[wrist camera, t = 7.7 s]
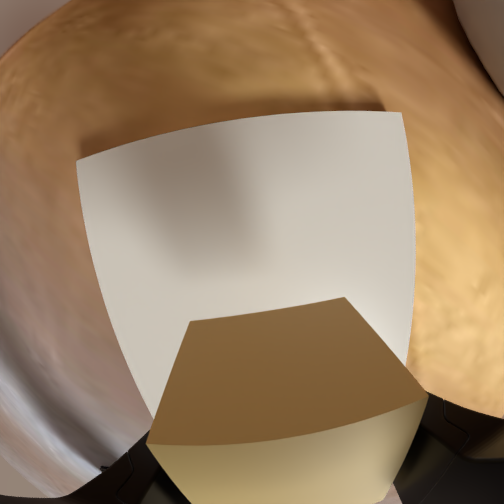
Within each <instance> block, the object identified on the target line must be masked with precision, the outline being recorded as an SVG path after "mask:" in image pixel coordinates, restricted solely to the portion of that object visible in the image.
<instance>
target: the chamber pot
mask: <svg viewBox="0 0 504 504" xmlns="http://www.w3.org/2000/svg"><path fill="white" fill-rule="evenodd" d="M452 1H453V4H454V7H455V10H456V13H457V17H458V20H459V21H460V23H461V25H462V27H463V29H464V31H465V34H466V36H467V38H468V40H469V42H470V44H471V45H472V47H473V49H474V50H475V52H476V54H477V55H478V57H479V59H480V61H481V63H482V64H483V66H484V68H485V69H486V71H487V72H488V74H489V75H490V77H491V78H492V80H493V82H494V83H495V85H496V86H497V88H498V90H499V91H500V93H501V94H502V95H503V96H504V0H452Z"/></svg>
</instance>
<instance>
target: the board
mask: <svg viewBox="0 0 504 504" xmlns="http://www.w3.org/2000/svg"><path fill="white" fill-rule="evenodd" d="M76 168H77V177H78V185H79V192H80V199H81V205H82V211H83V217H84V223H85V228H86V233H87V237H88V242H89V247H90V251H91V255H92V259H93V263H94V267H95V271H96V275H97V278H98V282H99V285H100V289H101V292H102V296H103V299H104V302H105V305H106V308H107V311H108V314H109V317H110V320H111V323H112V326H113V329H114V331H115V334H116V337H117V339H118V342H119V345H120V347H121V350H122V352H123V355H124V357H125V360H126V362H127V364H128V367H129V369H130V371H131V374H132V376H133V378H134V380H135V382H136V385H137V387H138V389H139V391H140V393H141V395H142V397H143V399H144V401H145V403H146V405H147V407H148V409H149V411H150V413H151V415H152V417H153V419H154V418H155V415H156V412H157V409H158V406H159V403H160V400H161V398H162V395H163V392H164V389H165V386H166V384H167V381H168V378H169V375H170V372H171V370H172V367H173V364H174V362H175V359H176V356H177V354H178V351H179V348H180V345H181V343H182V340H183V338H184V335H185V332H186V330H187V327H188V324H189V322H190V321H194V320H203V319H211V318H220V317H227V316H235V315H242V314H249V313H256V312H262V311H269V310H275V309H281V308H287V307H293V306H299V305H305V304H310V303H316V302H321V301H326V300H331V299H336V298H341V297H345V298H346V299H347V300H348V301H349V302H350V303H351V304H352V306H353V307H354V308H355V309H356V310H357V311H358V312H359V313H360V315H361V316H362V317H363V318H364V319H365V320H366V321H367V323H368V324H369V325H370V326H371V327H372V328H373V329H374V331H375V332H376V333H377V334H378V335H379V336H380V337H381V339H382V340H383V341H384V342H385V343H386V344H387V346H388V347H389V348H390V349H391V350H392V351H393V353H394V354H395V355H396V356H397V357H398V359H399V360H400V361H401V362H402V363H403V365H404V366H405V365H406V359H407V353H408V346H409V339H410V332H411V323H412V314H413V302H414V288H415V261H416V237H415V211H414V196H413V185H412V176H411V167H410V160H409V153H408V146H407V140H406V134H405V129H404V124H403V119H402V114H401V113H399V112H380V111H321V112H302V113H288V114H277V115H267V116H259V117H251V118H243V119H236V120H230V121H223V122H218V123H212V124H206V125H201V126H196V127H191V128H187V129H182V130H177V131H173V132H169V133H165V134H161V135H157V136H153V137H149V138H145V139H142V140H138V141H135V142H131V143H128V144H124V145H121V146H118V147H115V148H112V149H109V150H105V151H103V152H100V153H97V154H94V155H91V156H88V157H85V158H83V159H80V160H77V161H76Z"/></svg>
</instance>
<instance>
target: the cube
mask: <svg viewBox="0 0 504 504" xmlns="http://www.w3.org/2000/svg"><path fill="white" fill-rule="evenodd" d="M428 398H429V395H428V394H427V393H426V391H425V390H424V389H423V388H422V386H421V385H420V384H419V383H418V382H417V380H416V379H415V378H414V377H413V375H412V374H411V373H410V372H409V371H408V369H407V368H406V367H405V366H404V365H403V363H402V362H401V361H400V360H399V359H398V357H397V356H396V355H395V354H394V353H393V351H392V350H391V349H390V348H389V347H388V346H387V344H386V343H385V342H384V341H383V340H382V339H381V337H380V336H379V335H378V334H377V333H376V332H375V331H374V329H373V328H372V327H371V326H370V325H369V324H368V323H367V321H366V320H365V319H364V318H363V317H362V316H361V315H360V313H359V312H358V311H357V310H356V309H355V308H354V307H353V306H352V304H351V303H350V302H349V301H348V300H347V299H346V298H345V297H341V298H336V299H331V300H326V301H321V302H316V303H310V304H305V305H299V306H293V307H287V308H281V309H275V310H269V311H262V312H256V313H249V314H242V315H235V316H227V317H220V318H211V319H203V320H194V321H190V322H189V324H188V327H187V330H186V332H185V335H184V338H183V340H182V343H181V345H180V348H179V351H178V354H177V356H176V359H175V362H174V364H173V367H172V370H171V372H170V375H169V378H168V381H167V384H166V386H165V389H164V392H163V395H162V398H161V400H160V403H159V406H158V409H157V412H156V415H155V418H154V421H153V424H152V426H151V429H150V432H149V435H148V438H147V441H146V445H147V446H148V448H149V449H150V451H151V452H152V454H153V455H154V457H155V458H156V459H157V461H158V462H159V464H160V465H161V466H162V468H163V469H164V470H165V472H166V473H167V474H168V476H169V477H170V478H171V480H172V481H173V482H174V483H175V485H176V486H177V487H178V488H179V489H180V491H181V492H182V493H183V494H184V495H185V497H186V498H187V499H188V500H189V501H190V502H191V504H374V503H377V502H380V501H382V500H383V499H384V497H385V495H386V494H387V492H388V490H389V488H390V487H391V485H392V483H393V481H394V479H395V477H396V475H397V473H398V471H399V469H400V467H401V465H402V463H403V461H404V459H405V457H406V455H407V453H408V450H409V448H410V446H411V443H412V441H413V439H414V436H415V434H416V431H417V429H418V426H419V423H420V421H421V418H422V415H423V412H424V410H425V407H426V404H427V401H428Z"/></svg>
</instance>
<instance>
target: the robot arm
mask: <svg viewBox="0 0 504 504" xmlns="http://www.w3.org/2000/svg"><path fill="white" fill-rule="evenodd" d="M426 393H427V394H428V395H429V398H428V401H427V404H426V407H425V410H424V412H423V415H422V418H421V421H420V423H419V426H418V429H417V431H416V434H415V436H414V439H413V441H412V443H411V446H410V448H409V450H408V453H407V455H406V457H405V459H404V461H403V463H402V465H401V467H400V469H399V471H398V473H397V475H396V477H395V479H394V481H393V484H394V486H395V488H396V490H397V493H398V495H399V497H400V499H401V502H402V504H504V419H501V418H498V417H494V416H490V415H486V414H483V413H479V412H476V411H473V410H470V409H467V408H464V407H461V406H459V405H456V404H454V403H452V402H449V401H447V400H443V399H442V398H440V397H438V396H436V395H433V394H431V393H429V392H427V391H426ZM149 432H150V430H149V431H148V432H147V433H146V434H145V435H144V436H143V437H142V438H141V439H140V440H139V441H138V442H137V443H135V444H134V445H133V446H132V447H131V448H130V449H129V450H128V452H126V453H125V454H124V455H123V456H122V457H120V458H119V459H118V460H117V461H116V462H115V463H114V464H112V465H111V466H110V467H109V468H107V467H103V466H101V468H100V470H101V471H102V473H101V474H99V475H98V476H97V477H95V478H94V479H92V480H91V481H89V482H88V483H86V484H85V485H83V486H82V487H80V488H79V489H77V490H76V491H74V492H72V493H71V494H69V495H66V496H63V497H58V498H27V497H14V496H5V495H0V504H191V502H190V501H189V500H188V499H187V498H186V497H185V495H184V494H183V493H182V492H181V491H180V489H179V488H178V487H177V486H176V485H175V483H174V482H173V481H172V480H171V478H170V477H169V476H168V474H167V473H166V472H165V470H164V469H163V468H162V466H161V465H160V464H159V462H158V461H157V459H156V458H155V457H154V455H153V454H152V452H151V451H150V449H149V448H148V446H147V445H146V441H147V438H148V435H149Z"/></svg>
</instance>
